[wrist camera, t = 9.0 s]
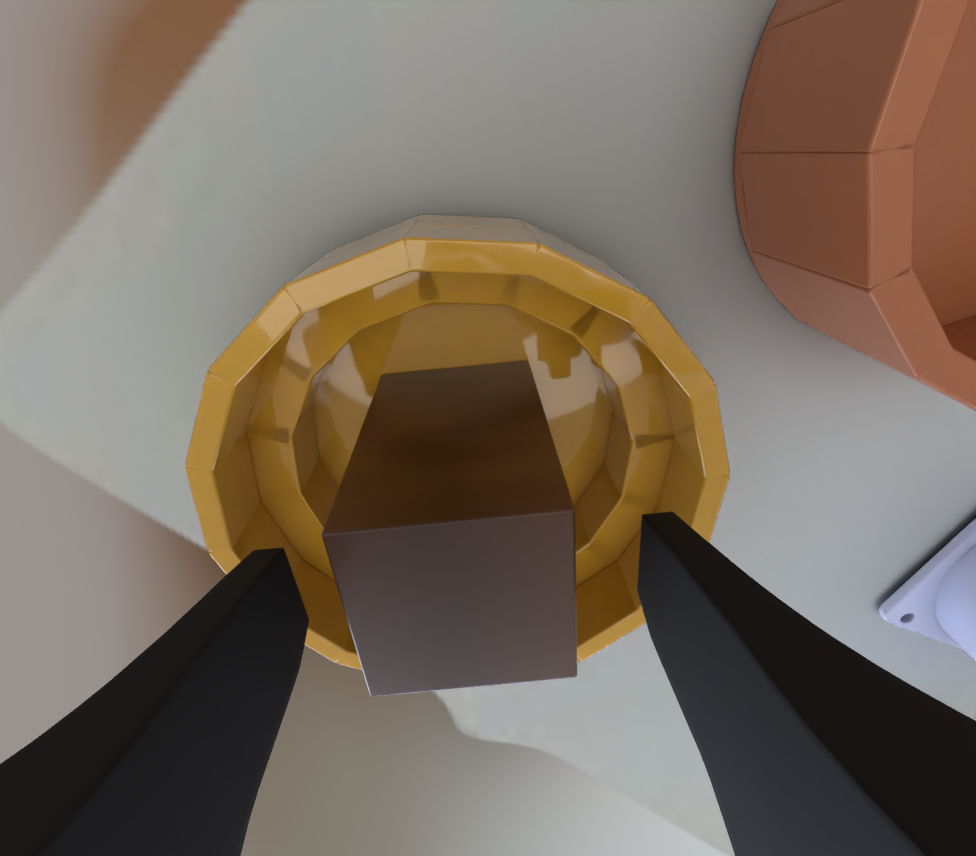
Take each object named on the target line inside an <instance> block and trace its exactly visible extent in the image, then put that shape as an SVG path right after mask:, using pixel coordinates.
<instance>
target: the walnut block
mask: <svg viewBox="0 0 976 856" xmlns="http://www.w3.org/2000/svg"><path fill="white" fill-rule="evenodd" d="M322 539H323V542H324V545H325V549H326V552H327V555H328V558H329V562H330V565H331V568H332V572H333V575H334V578H335V581H336V585H337V588H338V591H339V595H340V598H341V601H342V605H343V608H344V611H345V614H346V618H347V621H348V624H349V628H350V631H351V634H352V637H353V641H354V644H355V647H356V651H357V654H358V657H359V660H360V664H361V667H362V670H363V674H364V677H365V680H366V684H367V687H368V690H369V693H370V696H383V695H394V694H404V693H414V692H425V691H436V690H447V689H457V688H468V687H479V686H489V685H500V684H511V683H521V682H532V681H543V680H553V679H564V678H575V677H576V676H577V625H576V530H575V508H574V505H573V502H572V499H571V495H570V492H569V489H568V486H567V483H566V479H565V476H564V473H563V470H562V467H561V463H560V460H559V457H558V454H557V450H556V447H555V444H554V441H553V438H552V434H551V431H550V428H549V425H548V421H547V418H546V415H545V412H544V409H543V405H542V402H541V399H540V396H539V393H538V389H537V386H536V383H535V380H534V376H533V373H532V370H531V367H530V364H529V361H517V362H507V363H496V364H486V365H476V366H465V367H455V368H445V369H434V370H424V371H414V372H404V373H393V374H383V375H381V377H380V380H379V382H378V385H377V388H376V390H375V393H374V396H373V398H372V401H371V404H370V406H369V409H368V412H367V414H366V417H365V420H364V422H363V425H362V428H361V430H360V433H359V436H358V438H357V441H356V444H355V446H354V449H353V452H352V454H351V457H350V460H349V462H348V465H347V468H346V470H345V473H344V476H343V478H342V481H341V484H340V486H339V489H338V492H337V494H336V497H335V500H334V502H333V505H332V508H331V510H330V513H329V516H328V518H327V521H326V524H325V526H324V529H323V532H322Z"/></svg>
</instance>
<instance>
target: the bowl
mask: <svg viewBox="0 0 976 856" xmlns="http://www.w3.org/2000/svg"><path fill="white" fill-rule="evenodd" d="M517 361H529V364H530V367H531V370H532V373H533V376H534V380H535V383H536V386H537V389H538V393H539V396H540V399H541V402H542V405H543V409H544V412H545V415H546V418H547V421H548V425H549V428H550V431H551V434H552V438H553V441H554V444H555V447H556V450H557V454H558V457H559V460H560V463H561V467H562V470H563V473H564V476H565V479H566V483H567V486H568V489H569V492H570V495H571V499H572V502H573V505H574V508H575V530H576V625H577V663H579V662H581V661H584V660H586V659H587V658H589V657H590V656H592V655H594V654H595V653H597V652H599V651H600V650H602V649H604V648H605V647H607V646H609V645H610V644H612V643H613V642H615V641H617V640H618V639H620V638H622V637H623V636H625V635H627V634H628V633H630V632H632V631H633V630H635V629H636V628H638V627H640V626H641V625H643V624H645V623H646V619H645V616H644V613H643V609H642V605H641V602H640V598H639V595H638V591H637V584H638V568H639V553H640V537H641V522H642V514H651V513H662V512H674V513H675V514H676V515H677V516H679V517H680V518H681V519H682V520H683V521H684V522H686V523H687V524H688V525H689V526H690V527H691V528H693V529H694V530H695V531H696V532H697V533H698V534H699V535H701V536H702V537H703V538H704V539H705V540H706V541H708V542H710V539H711V536H712V532H713V529H714V526H715V523H716V519H717V516H718V513H719V510H720V507H721V503H722V500H723V497H724V494H725V490H726V487H727V484H728V481H729V478H730V475H729V474H730V468H729V462H728V456H727V450H726V444H725V438H724V432H723V426H722V420H721V414H720V408H719V402H718V396H717V390H716V385H715V384H714V381H713V379H712V377H711V376H710V375H709V374H708V372H707V371H706V370H705V368H704V367H703V366H702V364H701V363H700V362H699V360H698V359H697V358H696V357H695V355H694V354H693V353H692V351H691V350H690V349H689V347H688V346H687V345H686V343H685V342H684V341H683V340H682V338H681V337H680V336H679V334H678V333H677V332H676V330H675V329H674V328H673V326H672V325H671V324H670V323H669V321H668V320H667V319H666V317H665V316H664V315H663V313H662V312H661V311H660V309H659V308H658V307H657V306H656V304H655V303H654V302H653V300H651V299H650V298H649V297H648V296H647V295H645V294H644V293H643V292H642V291H640V290H639V289H638V288H636V287H635V286H634V285H633V284H631V283H630V282H629V281H627V280H626V279H625V278H624V277H622V276H621V275H619V274H618V273H617V272H616V271H614V270H613V269H612V268H611V267H609V266H608V265H607V264H605V263H604V262H603V261H602V260H600V259H598V258H596V257H594V256H592V255H590V254H588V253H586V252H585V251H583V250H581V249H579V248H577V247H575V246H573V245H571V244H569V243H567V242H565V241H563V240H561V239H559V238H557V237H555V236H553V235H551V234H549V233H547V232H545V231H543V230H541V229H539V228H537V227H535V226H533V225H531V224H529V223H527V222H525V221H523V220H518V219H516V218H493V217H470V216H446V215H422V216H420V215H417V216H415V217H412V218H410V219H407V220H405V221H402V222H400V223H397V224H395V225H392V226H390V227H388V228H385V229H383V230H380V231H378V232H375V233H373V234H370V235H368V236H365V237H363V238H360V239H358V240H355V241H353V242H350V243H348V244H345V245H343V246H340V247H338V248H335V249H333V250H332V251H330V252H329V253H328V254H326V255H325V256H324V257H322V258H321V259H319V260H318V261H317V262H315V263H314V264H313V265H311V266H310V267H308V268H307V269H306V270H304V271H303V272H302V273H300V274H299V275H298V276H296V277H295V278H293V279H292V280H291V281H289V282H288V283H287V284H285V285H284V286H283V287H281V288H280V289H279V290H278V292H277V293H276V294H275V295H274V296H273V297H272V298H271V299H270V300H269V302H268V303H267V304H266V305H265V306H264V307H263V308H262V309H261V310H260V312H259V313H258V314H257V315H256V316H255V317H254V318H253V319H252V320H251V322H250V323H249V324H248V325H247V326H246V327H245V328H244V329H243V330H242V332H241V333H240V334H239V335H238V336H237V337H236V338H235V339H234V340H233V342H232V343H231V344H230V345H229V346H228V347H227V348H226V349H225V350H224V351H223V353H222V354H221V355H220V356H219V357H218V358H217V359H216V360H215V361H214V363H213V364H212V365H211V366H210V367H209V371H208V372H207V373H206V377H205V382H204V386H203V390H202V394H201V399H200V403H199V407H198V411H197V416H196V420H195V424H194V428H193V433H192V437H191V441H190V445H189V450H188V454H187V458H186V463H185V464H186V473H187V476H188V480H189V484H190V487H191V491H192V495H193V499H194V502H195V506H196V510H197V513H198V517H199V521H200V525H201V528H202V532H203V536H204V539H205V543H206V547H207V550H208V551H209V554H210V555H211V557H212V558H213V559H214V560H215V562H216V563H217V564H218V565H219V566H220V568H221V569H222V570H223V571H224V572H225V574H226V575H227V574H228V573H229V572H230V571H231V570H232V569H233V568H235V567H236V566H237V565H238V564H239V563H240V562H241V561H242V560H243V559H244V558H245V557H247V556H248V555H249V554H250V553H251V552H252V551H254V550H261V549H271V548H282V547H284V549H285V552H286V555H287V558H288V561H289V563H290V566H291V569H292V572H293V575H294V578H295V581H296V583H297V586H298V589H299V592H300V595H301V598H302V601H303V603H304V606H305V609H306V612H307V615H308V618H309V624H308V629H307V634H306V640H305V645H306V646H308V647H309V648H311V649H313V650H314V651H316V652H318V653H319V654H321V655H323V656H324V657H326V658H328V659H329V660H331V661H333V662H337V663H338V664H341V665H344V666H348V667H352V668H356V669H360V670H362V667H361V664H360V660H359V657H358V654H357V651H356V647H355V644H354V641H353V637H352V634H351V631H350V628H349V624H348V621H347V618H346V614H345V611H344V608H343V605H342V601H341V598H340V595H339V591H338V588H337V585H336V581H335V578H334V575H333V572H332V568H331V565H330V562H329V558H328V555H327V552H326V549H325V545H324V542H323V539H322V532H323V529H324V526H325V524H326V521H327V518H328V516H329V513H330V510H331V508H332V505H333V502H334V500H335V497H336V494H337V492H338V489H339V486H340V484H341V481H342V478H343V476H344V473H345V470H346V468H347V465H348V462H349V460H350V457H351V454H352V452H353V449H354V446H355V444H356V441H357V438H358V436H359V433H360V430H361V428H362V425H363V422H364V420H365V417H366V414H367V412H368V409H369V406H370V404H371V401H372V398H373V396H374V393H375V390H376V388H377V385H378V382H379V380H380V377H381V375H383V374H393V373H404V372H414V371H424V370H434V369H445V368H455V367H465V366H476V365H486V364H496V363H507V362H517Z"/></svg>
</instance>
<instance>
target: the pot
mask: <svg viewBox="0 0 976 856" xmlns="http://www.w3.org/2000/svg"><path fill="white" fill-rule="evenodd" d="M734 175H735V193H736V204H737V210H738V215H739V220H740V225H741V230H742V234H743V237H744V240H745V243H746V246H747V248H748V251H749V254H750V257H751V259H752V261H753V263H754V265H755V267H756V269H757V271H758V273H759V274H760V276H761V278H762V280H763V282H764V283H765V284H766V286H767V287H768V288H769V289H770V291H771V292H772V293H773V295H774V296H775V297H776V299H777V300H778V301H779V302H780V303H781V304H782V305H783V306H784V307H786V308H787V309H788V310H789V312H790V313H791V315H792V316H794V317H795V318H796V319H797V320H799V321H801V322H803V323H805V324H807V325H809V326H811V327H812V328H814V329H816V330H818V331H820V332H822V333H824V334H826V335H828V336H830V337H831V338H833V339H835V340H837V341H839V342H841V343H843V344H845V345H847V346H849V347H850V348H852V349H854V350H856V351H858V352H860V353H862V354H864V355H866V356H868V357H870V358H872V359H874V360H876V361H878V362H880V363H882V364H884V365H886V366H888V367H890V368H892V369H894V370H896V371H898V372H900V373H902V374H904V375H906V376H908V377H910V378H912V379H914V380H916V381H918V382H920V383H922V384H924V385H926V386H928V387H930V388H932V389H934V390H936V391H938V392H939V393H941V394H943V395H945V396H947V397H949V398H951V399H953V400H955V401H957V402H959V403H961V404H963V405H965V406H967V407H969V408H971V409H973V410H975V411H976V0H778V1H777V3H776V5H775V7H774V9H773V11H772V13H771V15H770V18H769V21H768V23H767V26H766V28H765V31H764V33H763V36H762V38H761V41H760V43H759V46H758V48H757V51H756V53H755V56H754V60H753V63H752V67H751V70H750V74H749V77H748V81H747V84H746V88H745V91H744V95H743V99H742V105H741V111H740V116H739V122H738V128H737V133H736V148H735V164H734Z"/></svg>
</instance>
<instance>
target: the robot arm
mask: <svg viewBox="0 0 976 856" xmlns="http://www.w3.org/2000/svg"><path fill="white" fill-rule="evenodd" d="M637 591H638V595H639V598H640V602H641V605H642V609H643V613H644V616H645V619H646V623H647V626H648V629H649V632H650V636H651V639H652V641H653V643H654V646H655V648H656V651H657V653H658V655H659V658H660V660H661V663H662V665H663V667H664V670H665V672H666V674H667V677H668V679H669V681H670V684H671V686H672V688H673V691H674V693H675V695H676V698H677V700H678V702H679V705H680V707H681V709H682V712H683V714H684V716H685V719H686V721H687V723H688V726H689V728H690V730H691V733H692V735H693V737H694V740H695V742H696V744H697V747H698V749H699V751H700V754H701V756H702V759H703V762H704V764H705V767H706V769H707V772H708V775H709V777H710V780H711V783H712V786H713V789H714V792H715V795H716V798H717V801H718V804H719V807H720V810H721V813H722V816H723V819H724V822H725V825H726V828H727V832H728V835H729V838H730V841H731V844H732V847H733V850H734V853H735V856H976V721H975V720H973V719H971V718H969V717H967V716H965V715H964V714H962V713H960V712H958V711H956V710H954V709H953V708H951V707H949V706H947V705H945V704H944V703H942V702H940V701H938V700H936V699H935V698H933V697H931V696H929V695H928V694H926V693H924V692H922V691H920V690H919V689H917V688H915V687H913V686H911V685H910V684H908V683H906V682H904V681H903V680H901V679H899V678H898V677H896V676H894V675H893V674H891V673H889V672H888V671H886V670H884V669H882V668H881V667H879V666H878V665H876V664H874V663H873V662H871V661H870V660H868V659H866V658H865V657H863V656H862V655H860V654H859V653H857V652H855V651H854V650H852V649H851V648H849V647H848V646H846V645H844V644H843V643H841V642H840V641H838V640H837V639H835V638H833V637H832V636H830V635H829V634H827V633H826V632H825V631H823V630H822V629H820V628H819V627H817V626H816V625H814V624H813V623H811V622H810V621H809V620H807V619H806V618H804V617H803V616H802V615H800V614H799V613H798V612H796V611H795V610H793V609H792V608H791V607H789V606H788V605H786V604H785V603H784V602H782V601H781V600H780V599H778V598H777V597H776V596H774V595H773V594H772V593H770V592H769V591H768V590H766V589H765V588H764V587H762V586H761V585H760V584H759V583H757V582H756V581H755V580H754V579H752V578H751V577H750V576H749V575H747V574H746V573H745V572H744V571H742V570H741V569H740V568H739V567H737V566H736V565H735V564H734V563H733V562H731V561H730V560H729V559H728V558H726V557H725V556H724V555H723V554H722V553H721V552H719V551H718V550H717V549H716V548H715V547H713V546H712V545H711V544H710V543H709V542H708V541H706V540H705V539H704V538H703V537H702V536H701V535H699V534H698V533H697V532H696V531H695V530H694V529H693V528H691V527H690V526H689V525H688V524H687V523H686V522H684V521H683V520H682V519H681V518H680V517H679V516H677V515H676V514H675V513H674V512H662V513H651V514H642V522H641V537H640V553H639V568H638V584H637ZM879 614H880V615H881V616H882V617H883V618H884V620H886V621H887V622H889V623H892V624H894V625H897V626H900V627H902V628H905V629H908V630H911V631H913V632H916V633H919V634H921V635H924V636H927V637H929V638H932V639H935V640H937V641H940V642H943V643H946V644H948V645H951V646H954V647H956V648H959V649H962V650H964V651H966V652H967V653H968V654H969V655H970V656H971V657H972V658H973V659H974V660H975V661H976V518H975V519H974V520H973V521H972V522H971V523H970V524H969V525H968V526H966V527H965V528H964V529H963V530H962V531H961V532H960V533H959V534H958V535H957V536H956V537H954V538H953V539H952V540H951V541H950V542H949V543H948V544H947V545H946V546H945V547H944V548H942V549H941V550H940V551H939V552H938V553H937V554H936V555H935V556H934V557H933V558H932V559H930V560H929V561H928V562H927V563H926V564H925V565H924V566H923V567H922V568H921V569H919V570H918V571H917V572H916V573H915V574H914V575H913V576H912V577H911V578H910V579H909V580H907V581H906V582H905V583H904V584H903V585H902V586H901V587H900V588H899V589H898V590H897V591H895V592H894V593H893V594H892V595H891V596H890V597H889V598H888V599H887V600H886V601H885V602H883V603H882V605H881V606H880V608H879ZM308 624H309V618H308V615H307V612H306V609H305V606H304V603H303V601H302V598H301V595H300V592H299V589H298V586H297V583H296V581H295V578H294V575H293V572H292V569H291V566H290V563H289V561H288V558H287V555H286V552H285V549H284V547H282V548H271V549H261V550H254V551H252V552H251V553H250V554H249V555H248V556H247V557H245V558H244V559H243V560H242V561H241V562H240V563H239V564H238V565H237V566H236V567H235V568H233V569H232V570H231V571H230V572H229V573H228V574H227V575H226V576H225V577H224V578H223V579H222V580H221V581H220V582H219V583H218V584H217V585H216V586H215V587H213V588H212V589H211V590H210V591H209V592H208V593H207V594H206V595H205V596H204V597H203V598H202V599H201V600H200V601H199V602H198V603H197V604H196V605H194V606H193V607H192V608H191V609H190V610H189V611H188V612H187V613H186V614H185V615H184V616H183V617H182V618H181V619H179V620H178V621H177V622H176V623H175V624H174V625H173V626H172V627H171V628H170V629H169V630H168V631H167V632H166V633H164V634H163V635H162V636H161V637H160V638H159V639H158V640H156V641H155V642H154V643H153V644H152V645H151V646H150V647H148V648H147V649H146V650H145V651H144V652H143V653H142V654H140V655H139V656H138V657H137V658H136V659H135V660H134V661H133V662H131V663H130V664H129V665H128V666H127V667H126V668H124V669H123V670H122V671H121V672H120V673H119V674H118V675H116V676H115V677H114V678H113V679H112V680H111V681H109V682H108V683H107V684H106V685H104V686H103V687H102V688H101V689H100V690H98V691H97V692H96V693H95V694H93V695H92V696H91V697H90V698H88V699H87V700H86V701H85V702H83V703H82V704H81V705H80V706H79V707H77V708H76V709H75V710H73V711H72V712H71V713H69V714H68V715H67V716H66V717H64V718H63V719H62V720H60V721H59V722H58V723H56V724H55V725H54V726H52V727H51V728H50V729H48V730H47V731H46V732H45V733H43V734H42V735H41V736H39V737H38V738H36V739H35V740H34V741H33V742H31V743H30V744H28V745H27V746H25V747H24V748H23V749H21V750H20V751H18V752H17V753H16V754H14V755H13V756H11V757H10V758H9V759H7V760H6V761H4V762H3V763H1V764H0V856H240V855H241V851H242V847H243V843H244V839H245V835H246V831H247V827H248V823H249V819H250V816H251V812H252V809H253V806H254V802H255V799H256V796H257V792H258V789H259V786H260V783H261V780H262V777H263V775H264V772H265V769H266V766H267V763H268V760H269V757H270V754H271V751H272V748H273V746H274V742H275V740H276V737H277V734H278V731H279V728H280V725H281V722H282V719H283V716H284V713H285V711H286V708H287V705H288V702H289V699H290V696H291V692H292V690H293V687H294V684H295V681H296V678H297V674H298V671H299V668H300V663H301V659H302V654H303V650H304V645H305V640H306V634H307V629H308Z"/></svg>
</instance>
